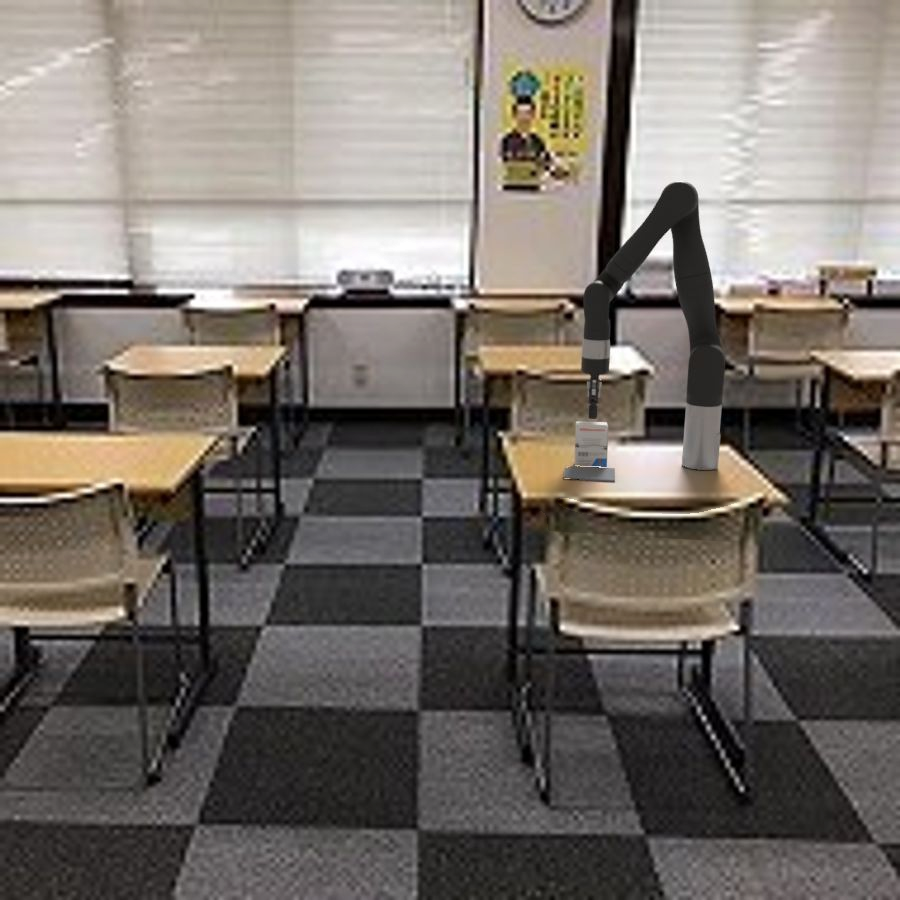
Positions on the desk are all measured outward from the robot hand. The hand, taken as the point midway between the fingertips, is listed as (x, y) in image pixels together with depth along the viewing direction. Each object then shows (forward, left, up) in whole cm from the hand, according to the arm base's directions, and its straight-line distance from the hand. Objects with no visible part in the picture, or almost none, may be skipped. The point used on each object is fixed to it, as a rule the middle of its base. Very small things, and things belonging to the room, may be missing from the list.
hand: (592, 418), depth 286 cm
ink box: (0, +9, -11) cm, 14 cm away
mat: (0, +18, -11) cm, 21 cm away
